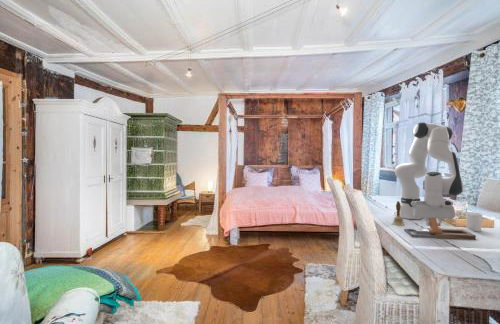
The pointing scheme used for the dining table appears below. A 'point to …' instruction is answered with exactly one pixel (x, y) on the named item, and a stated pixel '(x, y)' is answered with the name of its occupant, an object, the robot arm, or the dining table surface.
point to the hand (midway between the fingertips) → (433, 225)
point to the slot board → (455, 234)
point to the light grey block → (427, 232)
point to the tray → (418, 235)
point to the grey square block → (418, 231)
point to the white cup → (474, 221)
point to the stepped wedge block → (434, 226)
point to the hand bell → (398, 216)
